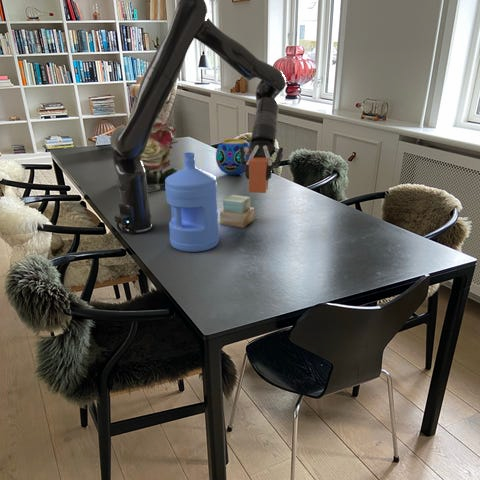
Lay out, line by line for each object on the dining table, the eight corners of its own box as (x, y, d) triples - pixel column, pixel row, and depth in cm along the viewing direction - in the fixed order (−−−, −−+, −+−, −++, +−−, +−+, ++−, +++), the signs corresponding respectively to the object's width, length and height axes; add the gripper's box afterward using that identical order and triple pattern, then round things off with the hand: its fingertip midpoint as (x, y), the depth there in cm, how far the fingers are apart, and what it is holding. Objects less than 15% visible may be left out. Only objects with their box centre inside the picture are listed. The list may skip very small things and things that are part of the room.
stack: (243, 227, 168) (242, 203, 164) (220, 224, 172) (219, 200, 167) (253, 219, 175) (254, 196, 171) (231, 216, 178) (231, 193, 174)
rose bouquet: (115, 181, 223) (105, 110, 208) (177, 174, 232) (172, 106, 216) (124, 196, 202) (114, 119, 187) (192, 188, 211) (187, 114, 196)
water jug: (194, 231, 166) (188, 146, 151) (229, 241, 157) (226, 152, 143) (160, 245, 155) (150, 154, 141) (195, 257, 147) (189, 162, 132)
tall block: (265, 193, 150) (266, 161, 145) (248, 192, 151) (248, 160, 146) (268, 188, 154) (268, 157, 149) (251, 187, 155) (252, 157, 150)
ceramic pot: (211, 177, 226) (210, 144, 218) (221, 168, 241) (220, 137, 233) (248, 179, 222) (248, 145, 215) (256, 170, 237) (256, 138, 229)
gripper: (240, 122, 150) (232, 171, 146) (286, 123, 148) (280, 172, 144) (243, 137, 157) (236, 183, 154) (287, 138, 155) (281, 186, 151)
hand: (257, 178), depth 149 cm, fingers closed on tall block, 5 cm apart
